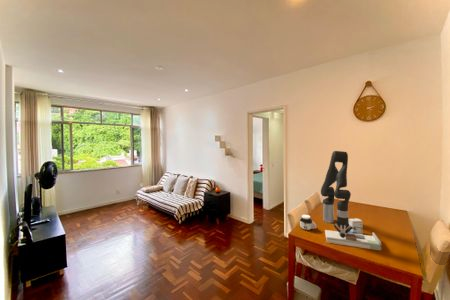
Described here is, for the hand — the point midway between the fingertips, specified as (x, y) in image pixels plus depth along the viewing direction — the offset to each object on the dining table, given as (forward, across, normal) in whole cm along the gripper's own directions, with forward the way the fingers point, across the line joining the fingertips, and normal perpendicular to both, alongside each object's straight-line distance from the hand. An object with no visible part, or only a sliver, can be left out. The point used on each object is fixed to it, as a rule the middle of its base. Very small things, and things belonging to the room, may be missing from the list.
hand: (342, 237), depth 149 cm
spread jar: (+4, +24, -15) cm, 29 cm away
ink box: (+4, -12, -18) cm, 22 cm away
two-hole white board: (+4, -6, -4) cm, 8 cm away
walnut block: (+1, -5, 0) cm, 5 cm away
